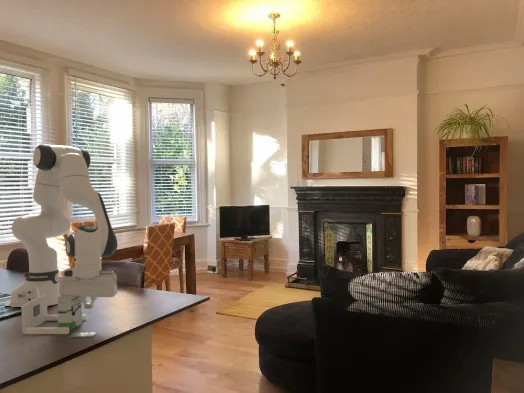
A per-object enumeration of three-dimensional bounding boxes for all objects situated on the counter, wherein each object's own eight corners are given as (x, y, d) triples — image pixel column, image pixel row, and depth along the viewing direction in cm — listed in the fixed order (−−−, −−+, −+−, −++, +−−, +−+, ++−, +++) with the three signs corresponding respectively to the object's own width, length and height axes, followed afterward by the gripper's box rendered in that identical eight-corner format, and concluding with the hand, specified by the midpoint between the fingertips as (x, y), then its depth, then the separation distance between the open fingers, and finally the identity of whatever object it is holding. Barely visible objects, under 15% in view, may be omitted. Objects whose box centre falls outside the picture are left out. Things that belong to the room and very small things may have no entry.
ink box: (70, 330, 162) (69, 297, 162) (57, 330, 163) (56, 297, 162) (82, 323, 171) (81, 291, 170) (70, 322, 171) (69, 291, 171)
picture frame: (68, 340, 154) (68, 336, 154) (73, 335, 159) (73, 332, 159) (92, 339, 155) (92, 336, 155) (96, 335, 159) (96, 331, 159)
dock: (22, 334, 159) (21, 305, 159) (44, 319, 175) (44, 293, 175) (68, 333, 159) (67, 305, 158) (86, 319, 175) (85, 293, 174)
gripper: (119, 269, 169) (120, 306, 169) (65, 268, 169) (65, 305, 170) (113, 273, 162) (114, 311, 163) (56, 271, 163) (57, 310, 164)
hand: (88, 308), depth 167 cm, fingers closed
